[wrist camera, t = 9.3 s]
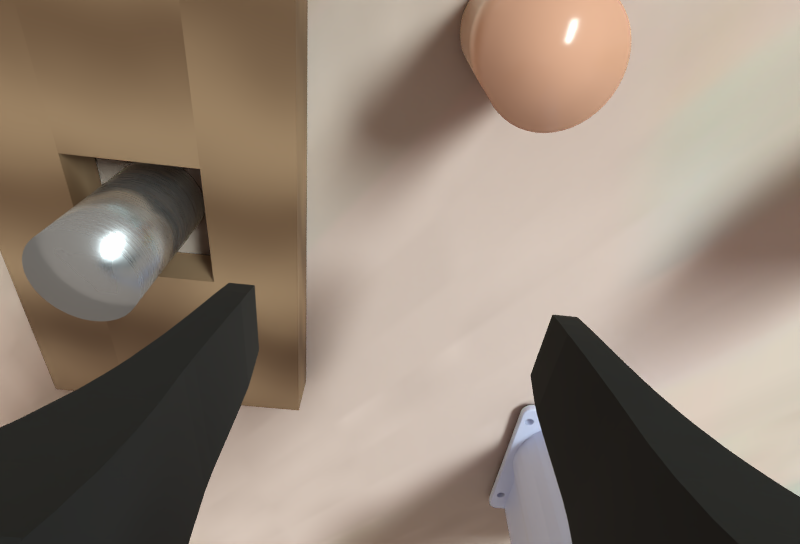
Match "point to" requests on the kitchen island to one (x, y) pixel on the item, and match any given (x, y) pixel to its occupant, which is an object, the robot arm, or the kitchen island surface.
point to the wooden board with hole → (163, 161)
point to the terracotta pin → (546, 57)
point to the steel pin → (114, 241)
